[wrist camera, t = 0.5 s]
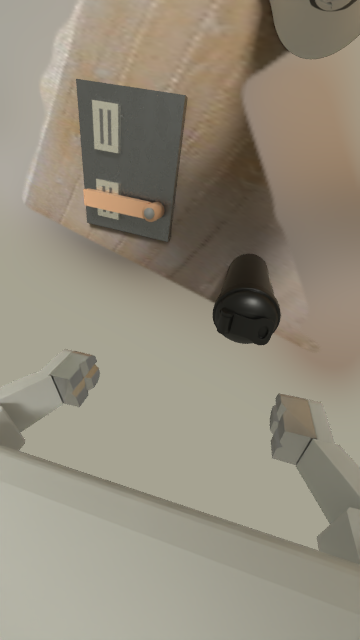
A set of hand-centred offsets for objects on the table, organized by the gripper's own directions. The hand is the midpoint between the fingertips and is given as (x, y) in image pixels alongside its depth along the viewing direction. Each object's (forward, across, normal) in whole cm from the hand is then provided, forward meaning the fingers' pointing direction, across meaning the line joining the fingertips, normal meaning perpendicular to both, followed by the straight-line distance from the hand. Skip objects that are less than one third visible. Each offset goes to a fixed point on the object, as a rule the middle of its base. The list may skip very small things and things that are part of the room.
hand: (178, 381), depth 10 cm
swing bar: (+43, +23, -1) cm, 49 cm away
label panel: (+45, +22, -7) cm, 51 cm away
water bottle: (+45, -4, +12) cm, 47 cm away
